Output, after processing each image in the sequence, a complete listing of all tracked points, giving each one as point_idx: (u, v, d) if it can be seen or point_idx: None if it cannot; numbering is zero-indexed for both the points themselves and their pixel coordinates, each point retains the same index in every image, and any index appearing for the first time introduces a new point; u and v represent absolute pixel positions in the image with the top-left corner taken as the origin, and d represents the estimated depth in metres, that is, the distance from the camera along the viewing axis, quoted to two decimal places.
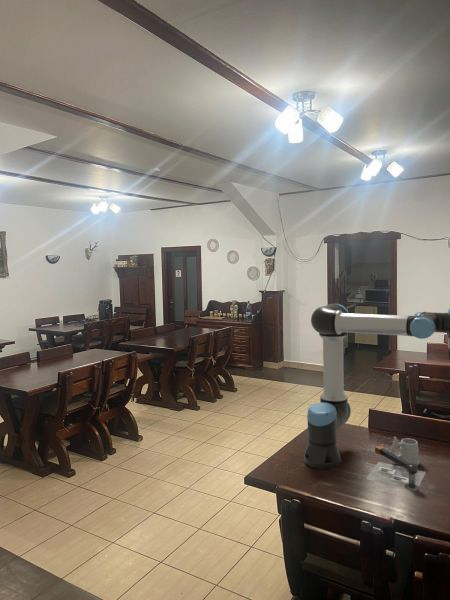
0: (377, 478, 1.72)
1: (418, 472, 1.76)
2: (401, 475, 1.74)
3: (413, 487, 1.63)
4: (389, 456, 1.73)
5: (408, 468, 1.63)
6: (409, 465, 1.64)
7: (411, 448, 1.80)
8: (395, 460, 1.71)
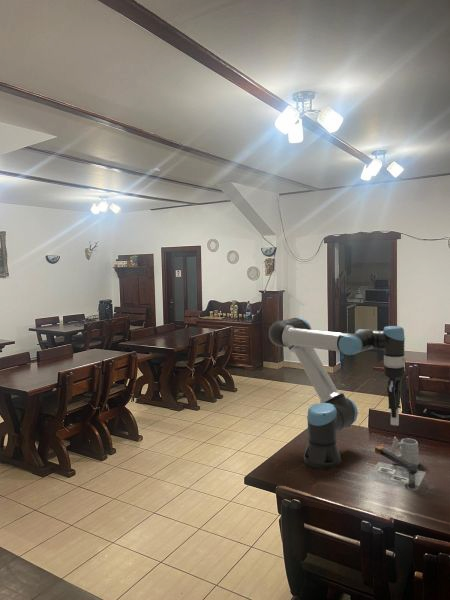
0: (377, 478, 1.72)
1: (418, 472, 1.76)
2: (401, 475, 1.74)
3: (413, 487, 1.63)
4: (389, 456, 1.73)
5: (408, 468, 1.63)
6: (409, 465, 1.64)
7: (411, 448, 1.80)
8: (395, 460, 1.71)
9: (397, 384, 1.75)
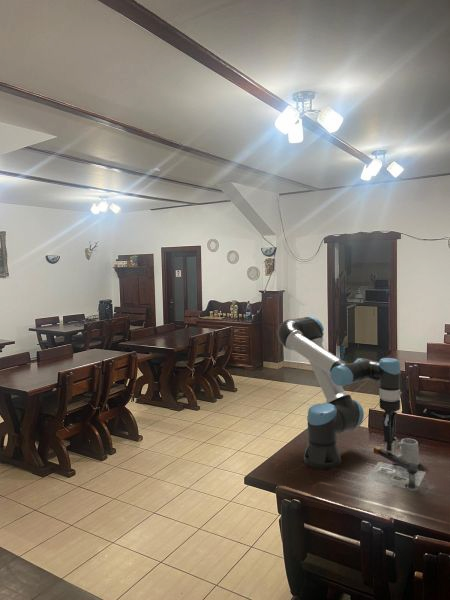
0: (377, 478, 1.72)
1: (418, 472, 1.76)
2: (401, 475, 1.74)
3: (413, 487, 1.63)
4: (388, 456, 1.73)
5: (408, 468, 1.63)
6: (409, 465, 1.64)
7: (411, 448, 1.80)
8: (394, 460, 1.70)
9: (393, 417, 1.73)
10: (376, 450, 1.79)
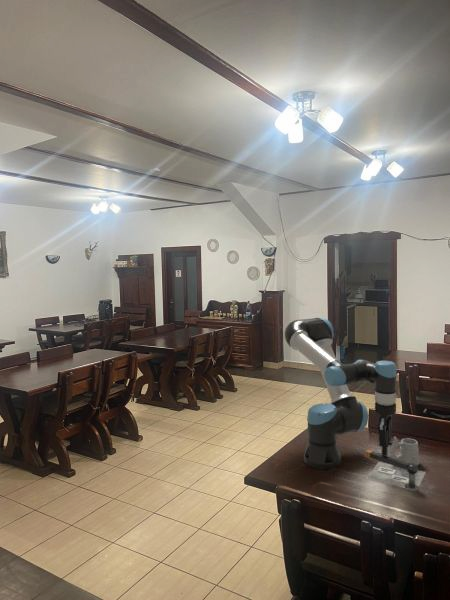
0: (377, 478, 1.72)
1: (418, 472, 1.76)
2: (401, 475, 1.74)
3: (413, 487, 1.63)
4: (383, 459, 1.71)
5: (410, 469, 1.63)
6: (410, 465, 1.63)
7: (411, 448, 1.80)
8: (390, 462, 1.69)
9: (388, 421, 1.70)
10: (368, 454, 1.76)
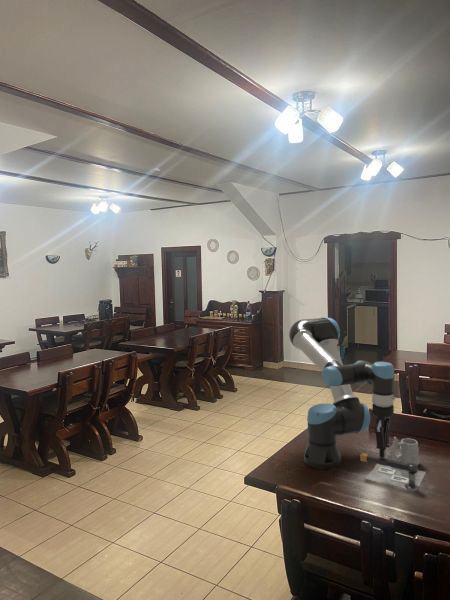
0: (377, 478, 1.72)
1: (418, 472, 1.76)
2: (401, 475, 1.74)
3: (413, 487, 1.63)
4: (381, 461, 1.69)
5: (411, 469, 1.62)
6: (410, 466, 1.63)
7: (411, 448, 1.80)
8: (389, 463, 1.68)
9: (386, 423, 1.68)
10: (364, 457, 1.73)
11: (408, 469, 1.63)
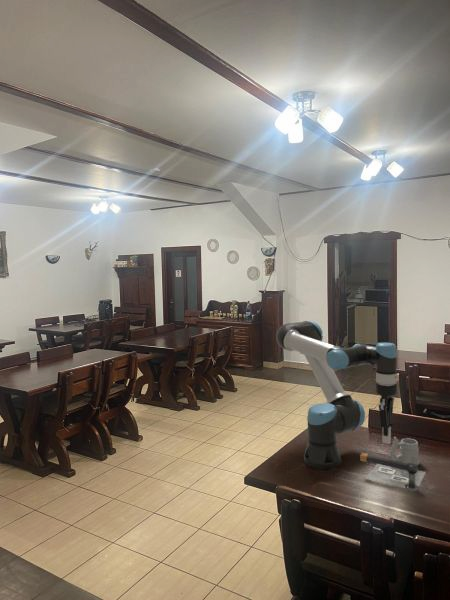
0: (377, 478, 1.72)
1: (418, 472, 1.76)
2: (401, 475, 1.74)
3: (413, 487, 1.63)
4: (381, 461, 1.69)
5: (411, 469, 1.62)
6: (410, 466, 1.63)
7: (411, 448, 1.80)
8: (389, 463, 1.68)
9: (389, 402, 1.72)
10: (364, 457, 1.73)
11: (408, 469, 1.63)
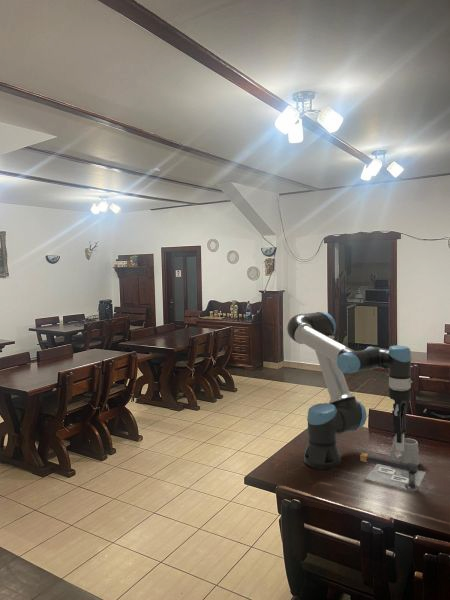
0: (377, 478, 1.72)
1: (418, 472, 1.76)
2: (401, 475, 1.74)
3: (413, 487, 1.63)
4: (381, 461, 1.69)
5: (411, 469, 1.62)
6: (410, 466, 1.63)
7: (411, 448, 1.80)
8: (389, 463, 1.68)
9: (403, 408, 1.65)
10: (364, 457, 1.73)
11: (408, 469, 1.63)
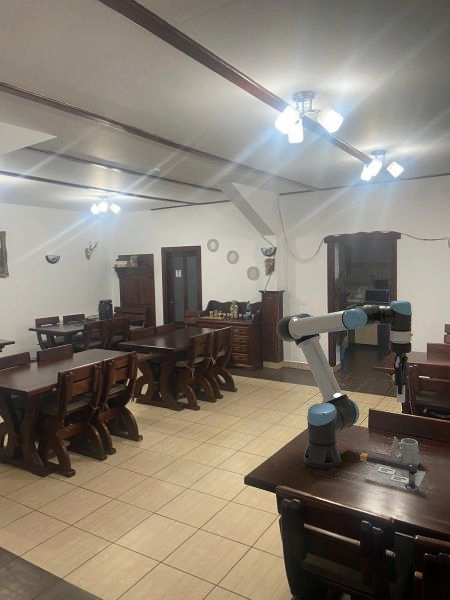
0: (377, 478, 1.72)
1: (418, 472, 1.76)
2: (401, 475, 1.74)
3: (413, 487, 1.63)
4: (381, 461, 1.69)
5: (411, 469, 1.62)
6: (410, 466, 1.63)
7: (411, 448, 1.80)
8: (389, 463, 1.68)
9: (404, 360, 1.71)
10: (364, 457, 1.73)
11: (408, 469, 1.63)
